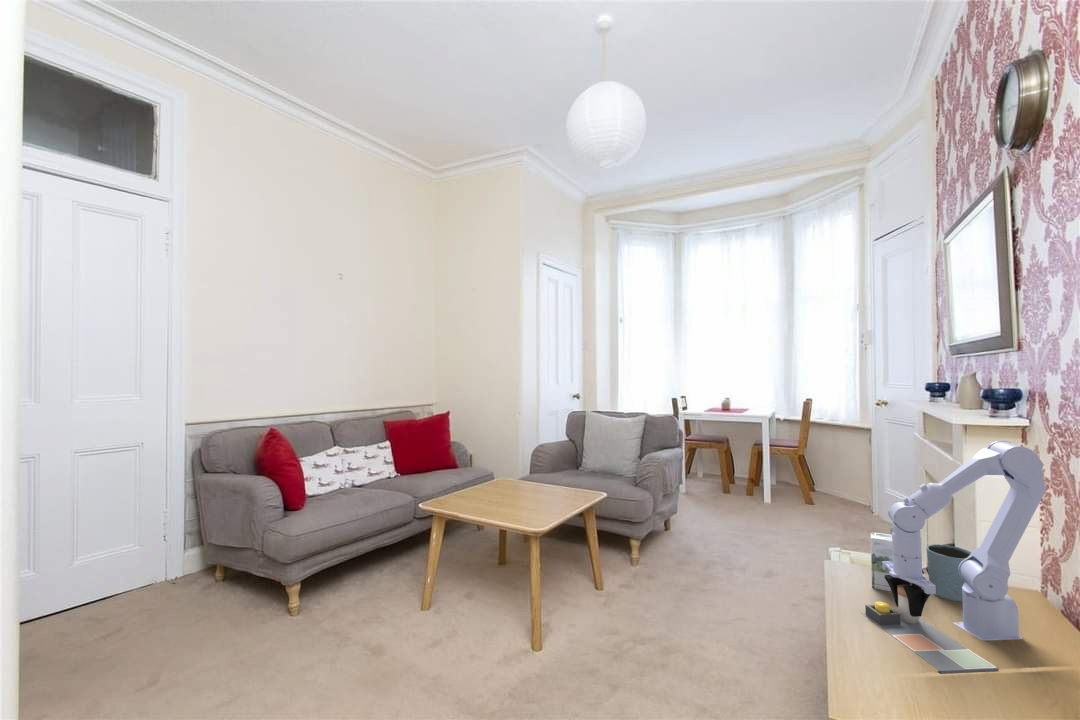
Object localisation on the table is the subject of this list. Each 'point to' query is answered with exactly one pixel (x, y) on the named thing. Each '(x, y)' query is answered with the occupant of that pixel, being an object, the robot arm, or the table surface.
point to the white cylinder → (905, 606)
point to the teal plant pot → (946, 570)
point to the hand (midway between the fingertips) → (908, 611)
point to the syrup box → (880, 559)
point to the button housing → (883, 616)
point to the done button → (882, 607)
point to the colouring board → (937, 648)
